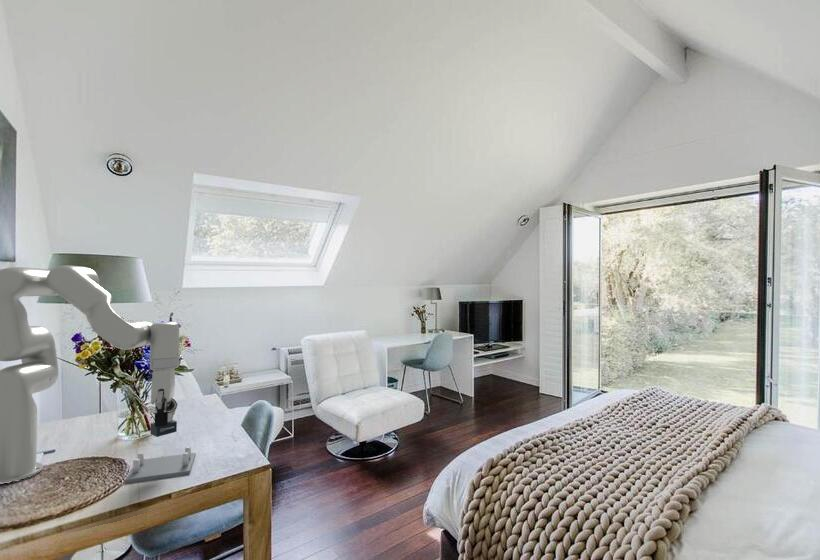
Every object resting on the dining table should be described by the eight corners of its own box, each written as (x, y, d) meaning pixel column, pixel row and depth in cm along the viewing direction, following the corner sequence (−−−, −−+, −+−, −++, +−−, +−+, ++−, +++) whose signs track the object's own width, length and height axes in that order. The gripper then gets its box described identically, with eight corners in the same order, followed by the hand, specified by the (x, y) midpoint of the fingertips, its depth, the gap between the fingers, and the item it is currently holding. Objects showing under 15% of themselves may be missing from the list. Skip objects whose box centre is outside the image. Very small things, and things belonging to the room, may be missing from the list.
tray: (124, 483, 114) (125, 467, 114) (137, 463, 127) (137, 448, 127) (189, 474, 120) (190, 458, 120) (195, 455, 133) (195, 441, 133)
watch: (159, 438, 119) (160, 400, 119) (147, 432, 124) (148, 396, 124) (179, 432, 123) (180, 396, 124) (167, 427, 128) (168, 392, 128)
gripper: (156, 359, 131) (155, 414, 130) (143, 369, 114) (142, 432, 114) (182, 357, 133) (182, 412, 133) (174, 367, 117) (173, 429, 117)
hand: (164, 421), depth 123 cm, fingers closed on watch, 8 cm apart
